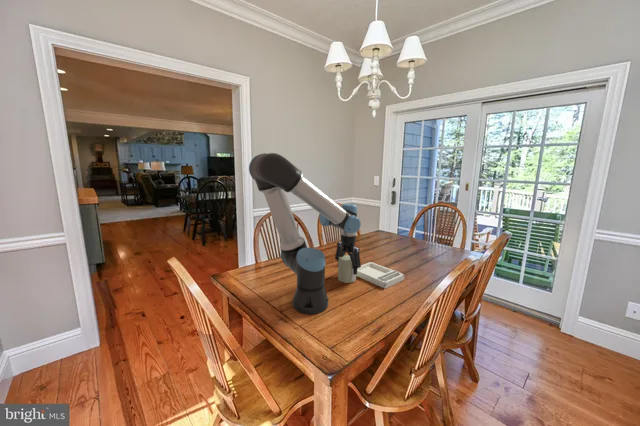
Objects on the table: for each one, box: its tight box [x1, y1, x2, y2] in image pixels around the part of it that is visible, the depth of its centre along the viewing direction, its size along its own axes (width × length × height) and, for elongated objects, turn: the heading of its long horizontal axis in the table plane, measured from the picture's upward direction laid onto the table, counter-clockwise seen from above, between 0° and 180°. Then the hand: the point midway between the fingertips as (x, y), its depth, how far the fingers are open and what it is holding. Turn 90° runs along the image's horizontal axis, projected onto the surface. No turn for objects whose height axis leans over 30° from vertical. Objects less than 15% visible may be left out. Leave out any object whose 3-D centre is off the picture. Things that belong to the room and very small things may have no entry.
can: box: [337, 254, 357, 284], centre depth 135 cm, size 9×9×12 cm
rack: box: [356, 261, 405, 290], centre depth 139 cm, size 16×22×4 cm
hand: (346, 276), depth 136 cm, fingers closed on can, 9 cm apart
